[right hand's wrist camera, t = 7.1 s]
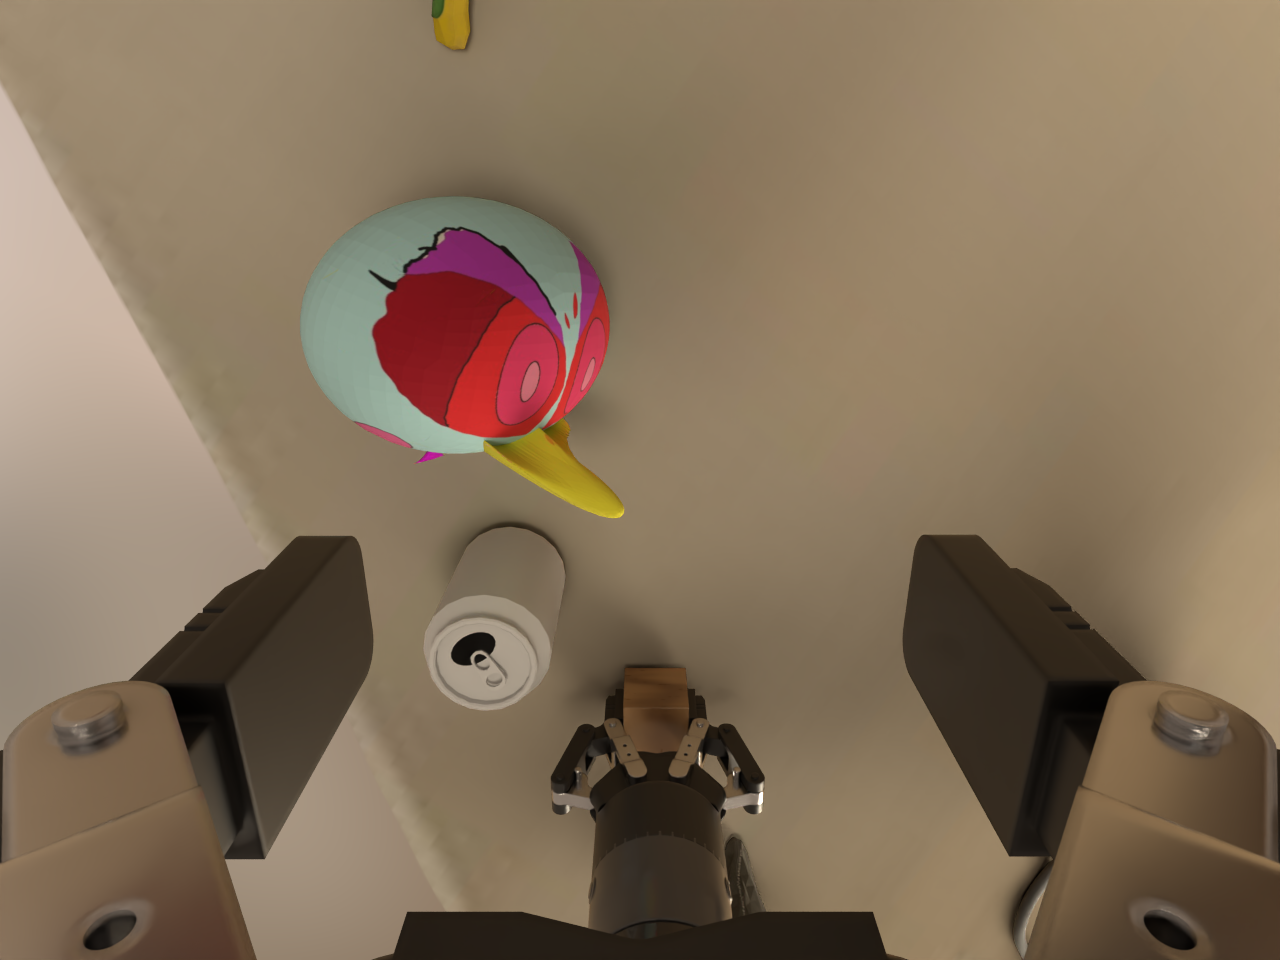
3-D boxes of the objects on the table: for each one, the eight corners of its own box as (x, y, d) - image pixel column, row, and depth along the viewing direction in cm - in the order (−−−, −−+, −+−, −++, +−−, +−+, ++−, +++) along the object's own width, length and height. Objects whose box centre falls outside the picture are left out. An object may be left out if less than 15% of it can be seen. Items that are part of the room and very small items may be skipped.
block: (625, 721, 59) (624, 764, 55) (624, 667, 58) (623, 707, 53) (684, 721, 59) (687, 764, 55) (685, 667, 58) (689, 707, 53)
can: (523, 501, 53) (492, 586, 42) (587, 581, 55) (574, 682, 44) (439, 557, 55) (387, 653, 43) (505, 632, 57) (471, 742, 46)
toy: (472, 641, 32) (566, 302, 26) (220, 441, 39) (246, 137, 33) (682, 528, 47) (776, 293, 40) (471, 396, 54) (522, 179, 48)
